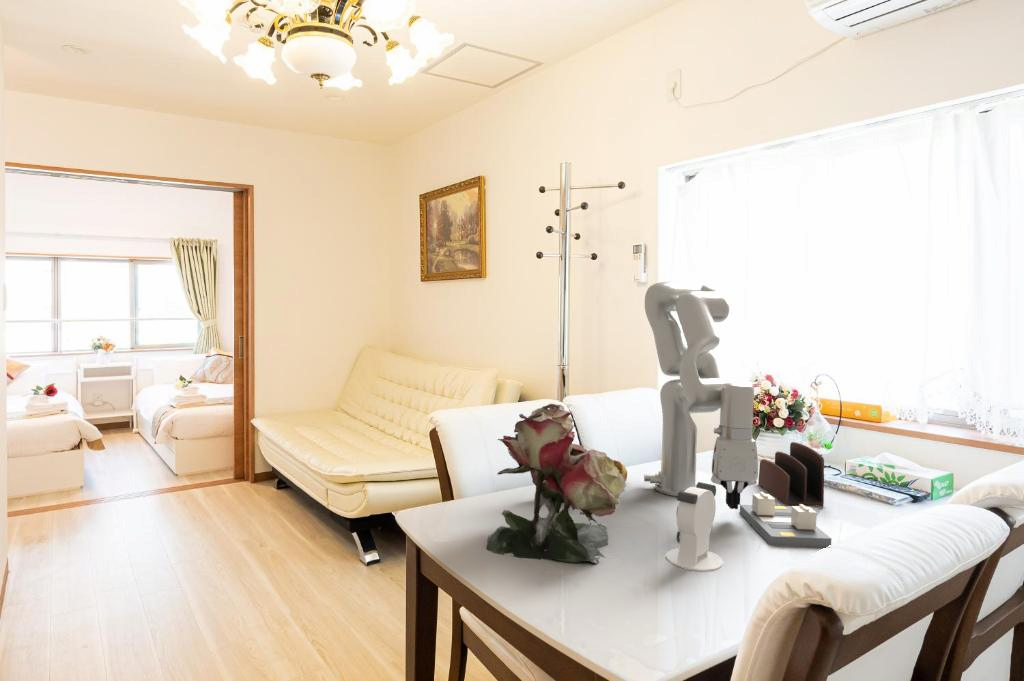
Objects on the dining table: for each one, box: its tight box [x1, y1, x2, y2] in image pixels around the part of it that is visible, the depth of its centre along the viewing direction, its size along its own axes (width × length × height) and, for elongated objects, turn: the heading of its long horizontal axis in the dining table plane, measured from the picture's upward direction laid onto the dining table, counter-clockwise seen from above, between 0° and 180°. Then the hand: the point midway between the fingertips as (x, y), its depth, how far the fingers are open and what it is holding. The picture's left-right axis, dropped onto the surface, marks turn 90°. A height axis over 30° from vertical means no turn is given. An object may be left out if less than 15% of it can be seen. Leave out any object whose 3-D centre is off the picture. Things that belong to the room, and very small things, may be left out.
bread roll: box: [612, 459, 628, 482], centre depth 188 cm, size 13×10×8 cm
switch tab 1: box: [751, 491, 776, 515], centre depth 156 cm, size 4×4×5 cm
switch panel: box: [739, 504, 832, 548], centre depth 152 cm, size 13×22×2 cm, turn 178°
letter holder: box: [757, 441, 825, 507], centre depth 179 cm, size 10×20×14 cm, turn 0°
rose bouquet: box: [485, 403, 626, 565], centre depth 141 cm, size 26×29×30 cm
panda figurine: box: [665, 481, 724, 572], centre depth 132 cm, size 12×11×15 cm
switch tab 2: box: [791, 504, 818, 530], centre depth 147 cm, size 4×4×5 cm
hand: (732, 507), depth 156 cm, fingers closed
